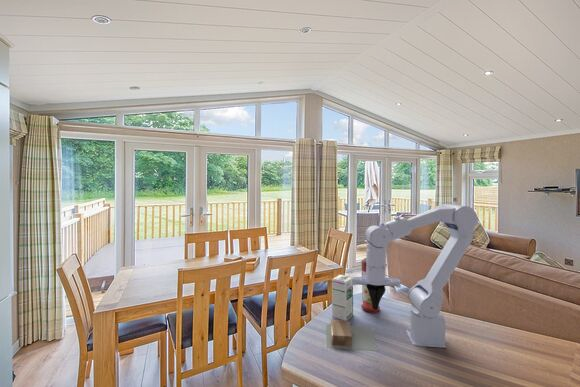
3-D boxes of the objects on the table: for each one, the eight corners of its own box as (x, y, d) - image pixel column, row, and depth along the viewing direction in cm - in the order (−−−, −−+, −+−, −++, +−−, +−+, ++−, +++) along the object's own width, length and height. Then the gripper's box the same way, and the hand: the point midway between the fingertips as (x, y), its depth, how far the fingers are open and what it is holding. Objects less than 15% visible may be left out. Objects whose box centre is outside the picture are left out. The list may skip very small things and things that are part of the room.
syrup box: (346, 322, 100) (346, 281, 99) (331, 317, 104) (331, 278, 103) (353, 315, 105) (353, 277, 104) (338, 311, 108) (339, 273, 107)
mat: (370, 328, 96) (370, 327, 96) (378, 352, 83) (378, 350, 83) (326, 325, 98) (326, 324, 98) (326, 348, 85) (326, 347, 85)
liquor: (360, 313, 106) (361, 239, 104) (360, 304, 113) (362, 235, 111) (380, 316, 104) (382, 240, 102) (380, 307, 111) (381, 236, 109)
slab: (349, 321, 94) (330, 320, 95) (351, 336, 85) (331, 335, 86) (348, 329, 95) (330, 328, 95) (351, 346, 86) (331, 344, 86)
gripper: (396, 262, 91) (395, 303, 92) (350, 260, 92) (349, 301, 93) (403, 269, 84) (401, 314, 85) (352, 267, 85) (352, 311, 86)
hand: (374, 308), depth 89 cm, fingers closed
